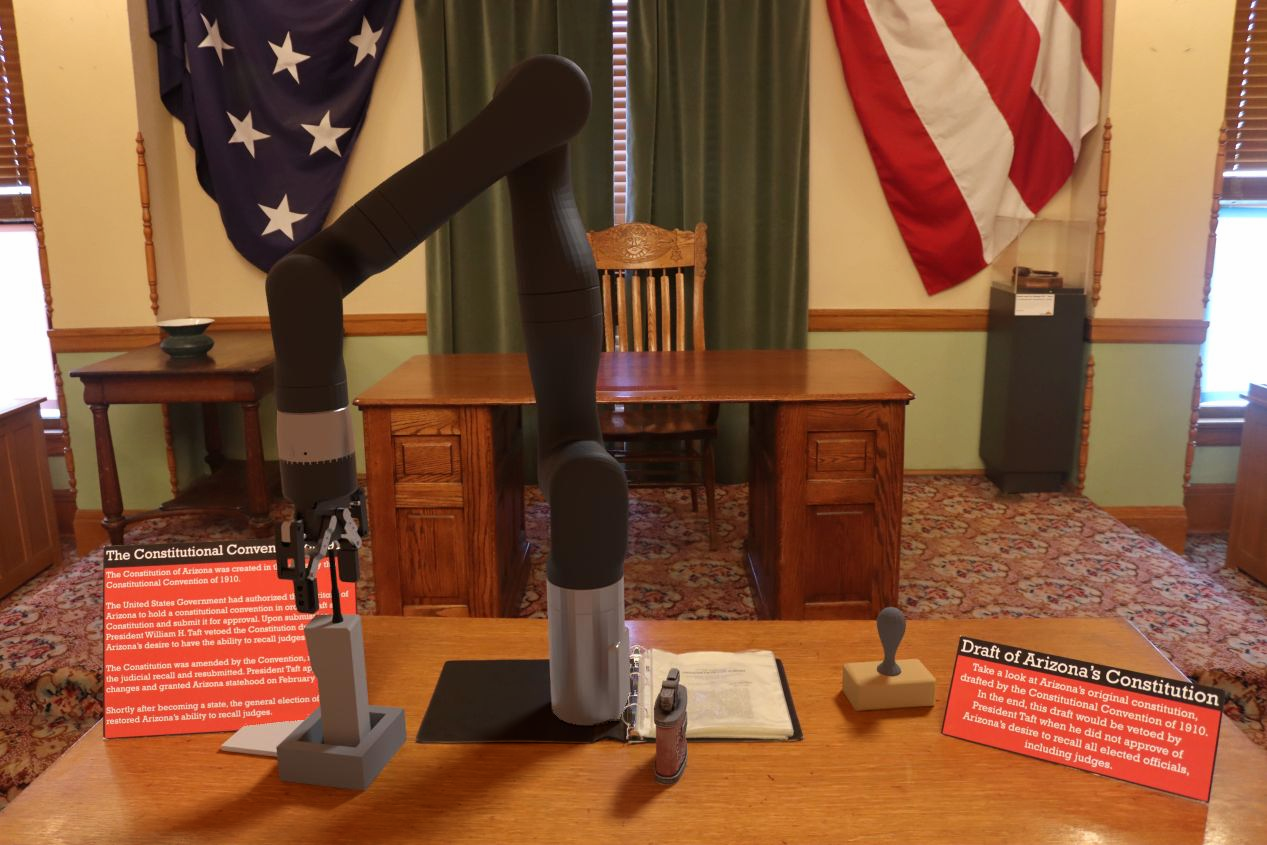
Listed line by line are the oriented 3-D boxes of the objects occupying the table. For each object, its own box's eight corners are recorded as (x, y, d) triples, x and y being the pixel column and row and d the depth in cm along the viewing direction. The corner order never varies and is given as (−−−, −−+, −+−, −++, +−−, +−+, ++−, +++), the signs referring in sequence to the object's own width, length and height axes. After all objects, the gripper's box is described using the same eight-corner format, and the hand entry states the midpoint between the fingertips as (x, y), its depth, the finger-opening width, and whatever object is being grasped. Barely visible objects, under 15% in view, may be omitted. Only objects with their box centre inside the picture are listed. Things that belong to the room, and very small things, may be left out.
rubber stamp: (916, 684, 118) (921, 596, 116) (935, 707, 113) (941, 615, 110) (841, 689, 117) (844, 600, 115) (856, 712, 112) (860, 620, 109)
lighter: (680, 786, 98) (680, 700, 95) (649, 783, 98) (648, 697, 96) (691, 744, 105) (691, 664, 103) (662, 741, 106) (661, 661, 104)
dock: (406, 739, 107) (404, 708, 106) (364, 790, 98) (361, 757, 97) (328, 731, 109) (325, 700, 108) (279, 780, 100) (276, 747, 99)
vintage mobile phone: (329, 749, 105) (309, 542, 100) (372, 750, 105) (354, 542, 100) (317, 769, 102) (295, 554, 96) (362, 769, 102) (342, 554, 96)
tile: (322, 720, 112) (321, 716, 112) (284, 757, 104) (283, 752, 104) (263, 714, 113) (262, 709, 113) (221, 750, 106) (221, 745, 106)
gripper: (312, 469, 88) (326, 627, 92) (382, 435, 102) (392, 574, 105) (242, 466, 90) (259, 621, 93) (321, 433, 103) (332, 569, 107)
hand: (330, 595), depth 99 cm, fingers open, 8 cm apart
